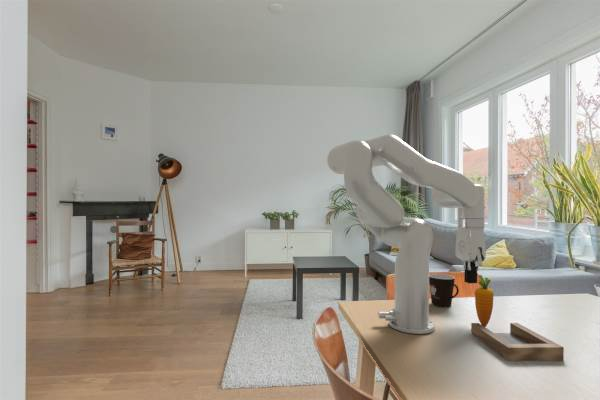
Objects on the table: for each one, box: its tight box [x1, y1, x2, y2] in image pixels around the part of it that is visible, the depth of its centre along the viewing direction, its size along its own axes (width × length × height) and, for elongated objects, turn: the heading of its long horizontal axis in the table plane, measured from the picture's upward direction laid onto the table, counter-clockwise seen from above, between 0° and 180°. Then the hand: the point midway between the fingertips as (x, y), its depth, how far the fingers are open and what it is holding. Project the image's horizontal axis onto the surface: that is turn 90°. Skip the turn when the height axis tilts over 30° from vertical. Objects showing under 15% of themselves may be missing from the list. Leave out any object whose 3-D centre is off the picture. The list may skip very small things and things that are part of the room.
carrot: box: [474, 274, 494, 328], centre depth 100 cm, size 5×5×15 cm
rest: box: [470, 322, 565, 362], centre depth 87 cm, size 13×16×3 cm
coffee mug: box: [429, 273, 460, 308], centre depth 121 cm, size 12×9×10 cm
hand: (470, 282), depth 108 cm, fingers closed
